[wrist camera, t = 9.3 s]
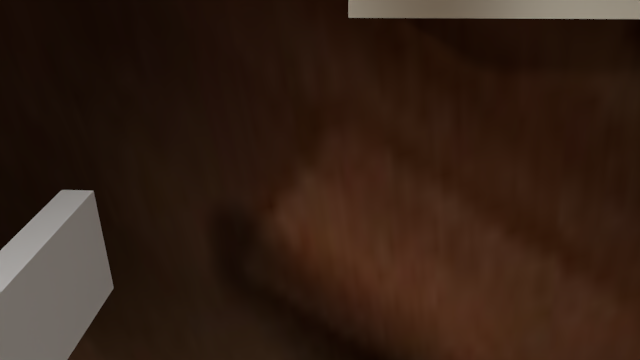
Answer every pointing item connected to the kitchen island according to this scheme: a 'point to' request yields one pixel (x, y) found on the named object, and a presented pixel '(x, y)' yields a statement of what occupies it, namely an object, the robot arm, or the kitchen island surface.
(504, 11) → the channel
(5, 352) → the robot arm
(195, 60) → the kitchen island surface
